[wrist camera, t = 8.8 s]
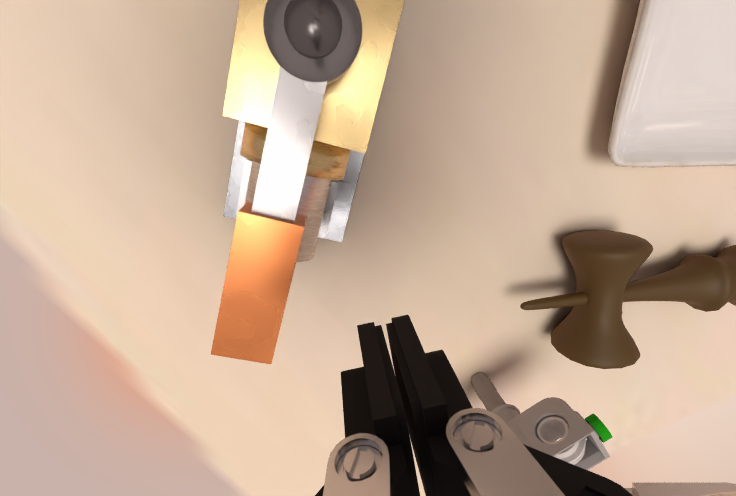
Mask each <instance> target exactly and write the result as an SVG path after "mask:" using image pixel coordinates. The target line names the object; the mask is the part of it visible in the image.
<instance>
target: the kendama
mask: <svg viewBox="0 0 736 496" xmlns="http://www.w3.org/2000/svg"><path fill="white" fill-rule="evenodd" d="M562 245H563V248H564V251H565V253H566V255H567V257H568V258H569V260H570V262H571V264H572V266H573V268H574V271H575V275H576V293H570V294H564V295H558V296H553V297H547V298H541V299H536V300H531V301H527V302H524V303H522V304H521V308H522V309H524V310H537V309H549V308H559V307H569V306H573V308H572V310H571V312H570V313H569V314H568V315H567V317H566V318H565V319H564V320H563V321H562V322H561V323H560V324H559V325H558V326H557V327H556V328H555V329H554V330H553V331H552V333H551V344H552V345H553V346H554V347H555V348H556V350H557V351H558V352H559V353H561V354H562V355H564V356H565V357H567V358H569V359H570V360H572V361H575V362H577V363H580V364H583V365H585V366H589V367H595V368H602V369H611V368H623V367H626V366H630V365H633V364H635V362H636V361H637V360H638V359H639V358H640V352H639V350H638V348H637V346H636V344H635V342H634V340H633V338H632V337H631V335H630V334H629V332H628V331H627V329H626V328H625V326H624V324H623V321H622V303H623V302H630V301H678V302H685V303H687V304H688V305H690V306H692V307H693V308H695V309H698V310H702V311H706V312H707V311H716V310H719V309H720V308H722V307H723V306H724V305H725V304H726V303H727V302H730V303H731V304H733V305H736V245H733V246H730V247H726V248H723V249H722V250H721V251H720V252H719V253H718V254H717V255H716V256H715V257H711V256H709V255H704V254H693V255H689V256H686V257H685V258H684V259H683V260H682V261H681V262H680V263H679V264H678V267H676V268H674V269H672V270H669V271H666V272H664V273H660V274H657V275H654V276H651V277H647V278H644V279H640V280H636V281H632V282H629V280H630V278H631V277H632V276H633V274H634V273H635V272H636V271H637V270H638V268H639V267H640V266H641V265H642V264H643V263H644V262H645V261H646V259H647V258H648V257H649V256H650V254H651V252H652V250H653V247H652V245H651V244H650V243H649V242H648V241H646V240H645V239H643V238H640V237H638V236H635V235H631V234H627V233H622V232H614V231H599V230H593V231H580V232H575V233H571V234H569V235H567V236H565V237H563V238H562Z"/></svg>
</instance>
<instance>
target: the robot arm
mask: <svg viewBox="0 0 736 496" xmlns="http://www.w3.org/2000/svg"><path fill="white" fill-rule="evenodd" d="M386 326H387V332H388V338H389V343H390V349H391V354H392V360H393V366H394V370H393V366H392V363H391V359H390V355H389V352H388V348H387V345H386V341H385V337H384V334H383V330H382V327H381V325H379V326H374V322H372V323H367V324H362V325H357V327H358V333H359V340H360V346H361V352H362V358H363V364H364V367H360V368H356V369H351V370H347V371H342V372H341V383H342V397H343V412H344V426H345V439H343V440H342V441H340V442H339V443H338V444H337V445H336V446H335V447H334V449H333V450H332V452H331V454H330V457H329V460H328V464H327V471H326V478H325V484H324V486H323V487H322V488H321V489H320V490H319V492H318V493H317V494H316V495H315V496H420V493H419V487H418V481H417V476H416V470H415V464H414V459H413V453H412V447H411V442H412V446H413V450H414V453H415V457H416V461H417V465H418V468H419V472H420V476H421V479H422V483H423V487H424V490H425V494H426V496H736V484H732V483H632V488H623V487H622V486H621V485H619V484H617V483H615V482H613V481H611V480H609V479H607V478H605V477H602V476H600V475H598V474H595V473H593V472H590V471H588V470H585V469H583V468H580V467H578V466H576V465H573V464H571V463H568V462H566V461H563V460H561V459H558V458H556V457H554V456H551V455H549V454H546V453H544V452H541V451H539V450H536V449H534V448H532V447H529V446H527V445H524V444H522V442H521V441H520V440H519V439H518V437H517V436H516V435H515V434H514V433H513V431H512V430H511V429H510V428H509V426H508V425H507V424H506V423H505V422H504V421H503V420H502V419H501V418H500V417H499V416H498V415H496V414H495V413H493V412H491V411H488V410H485V409H481V408H472V406H471V404H470V402H469V400H468V398H467V396H466V394H465V392H464V390H463V388H462V386H461V384H460V382H459V380H458V378H457V376H456V374H455V373H454V371H453V369H452V367H451V365H450V363H449V361H448V359H447V357H446V355H445V353H444V351H443V350H438V351H434V352H429V353H425V352H424V350H423V348H422V345H421V343H420V341H419V338H418V336H417V334H416V331H415V329H414V327H413V324H412V322H411V320H410V317H409V315H405V316H400V317H395V318H392V323H389V324H386ZM394 371H395V373H394ZM409 435H410V436H409ZM410 439H411V442H410Z"/></svg>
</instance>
